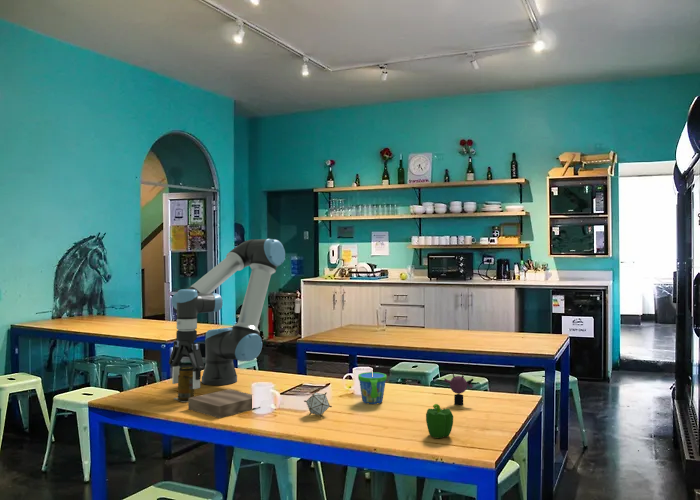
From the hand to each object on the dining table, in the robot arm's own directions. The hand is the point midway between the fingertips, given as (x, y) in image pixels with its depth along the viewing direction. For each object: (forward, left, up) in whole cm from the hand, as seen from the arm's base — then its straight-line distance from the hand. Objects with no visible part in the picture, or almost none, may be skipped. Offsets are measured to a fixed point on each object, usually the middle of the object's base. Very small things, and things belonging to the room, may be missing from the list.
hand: (186, 385), depth 225 cm
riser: (-1, +22, -5) cm, 23 cm away
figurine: (-60, +83, -5) cm, 103 cm away
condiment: (0, 0, -6) cm, 5 cm away
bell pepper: (-23, +98, -5) cm, 101 cm away
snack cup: (-42, +57, -5) cm, 71 cm away
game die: (-16, +54, -5) cm, 57 cm away
